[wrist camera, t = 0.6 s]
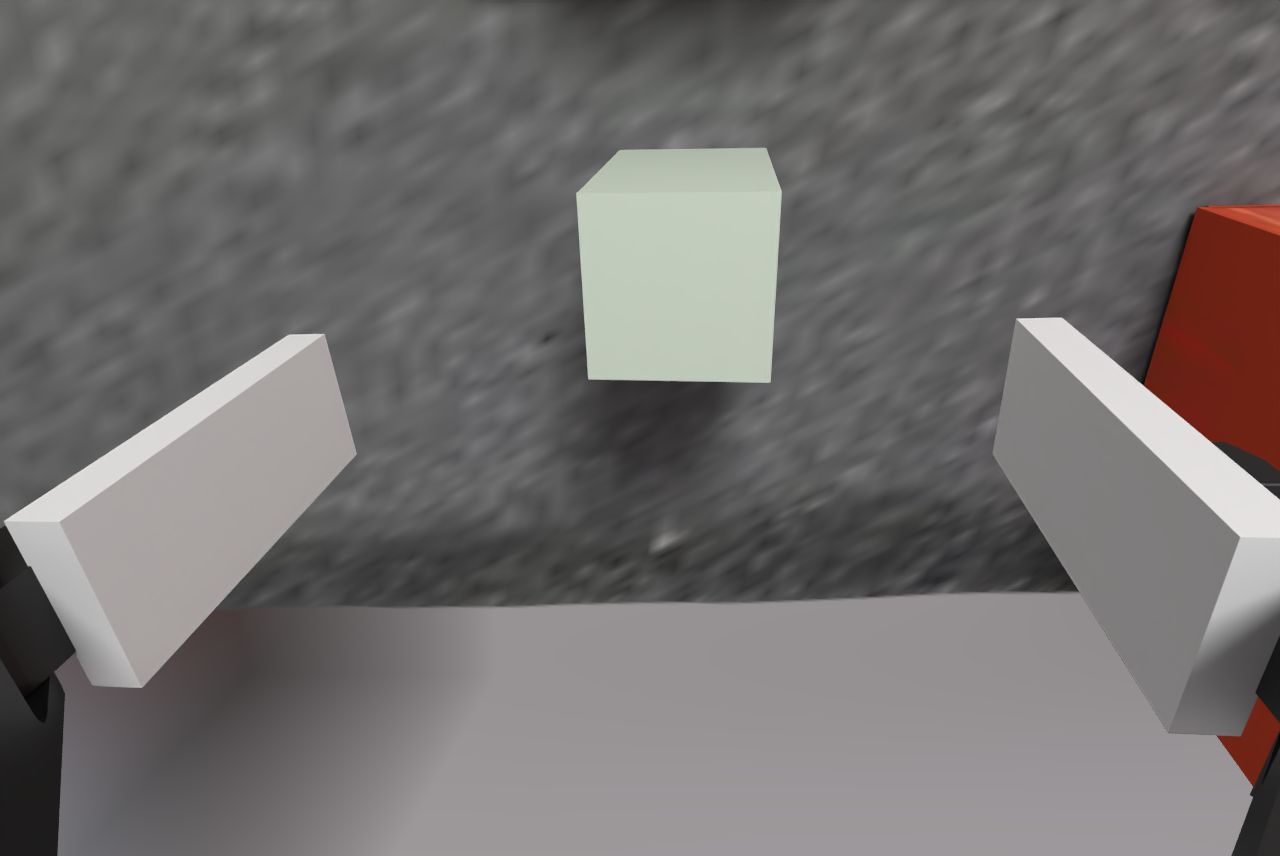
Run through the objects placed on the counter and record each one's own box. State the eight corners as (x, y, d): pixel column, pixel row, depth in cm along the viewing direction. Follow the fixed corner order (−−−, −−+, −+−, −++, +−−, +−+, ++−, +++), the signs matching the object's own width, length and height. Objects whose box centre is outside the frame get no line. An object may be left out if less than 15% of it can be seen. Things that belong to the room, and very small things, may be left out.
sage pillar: (624, 290, 34) (588, 379, 25) (619, 150, 31) (576, 193, 22) (759, 291, 33) (770, 382, 24) (766, 147, 30) (781, 191, 21)
